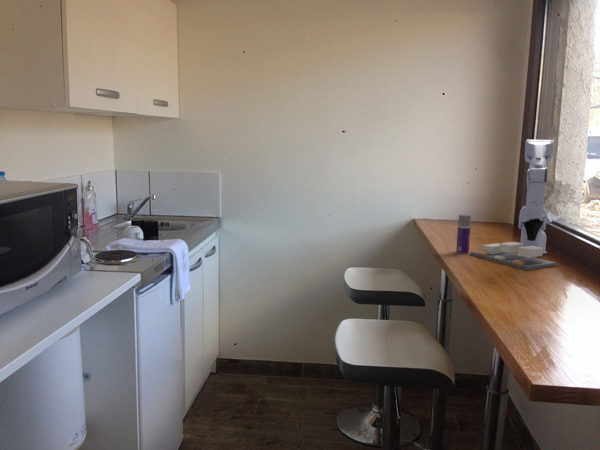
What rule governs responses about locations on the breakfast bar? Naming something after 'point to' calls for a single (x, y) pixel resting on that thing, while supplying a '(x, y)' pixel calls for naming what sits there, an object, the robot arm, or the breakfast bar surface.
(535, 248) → the button
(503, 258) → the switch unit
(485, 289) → the breakfast bar surface
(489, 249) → the button
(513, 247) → the button
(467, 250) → the container
